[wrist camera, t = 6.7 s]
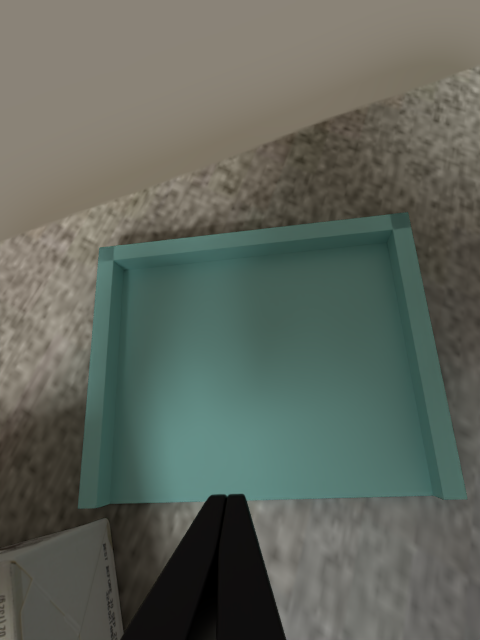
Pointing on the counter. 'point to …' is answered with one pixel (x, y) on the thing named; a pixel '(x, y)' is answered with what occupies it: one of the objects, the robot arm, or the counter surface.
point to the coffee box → (61, 587)
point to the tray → (266, 369)
